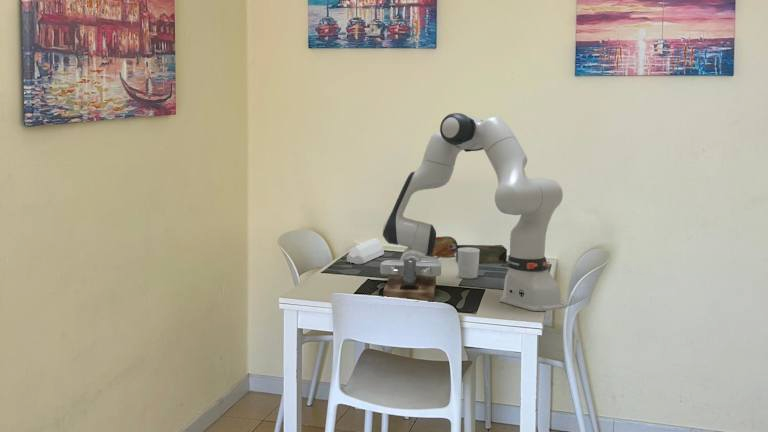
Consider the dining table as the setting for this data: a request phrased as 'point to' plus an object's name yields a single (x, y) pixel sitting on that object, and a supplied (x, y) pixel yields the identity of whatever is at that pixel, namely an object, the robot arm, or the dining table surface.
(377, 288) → the dining table surface
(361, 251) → the white rounded block
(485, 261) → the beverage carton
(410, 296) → the socket block
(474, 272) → the white cup
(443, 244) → the tin
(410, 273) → the pin
